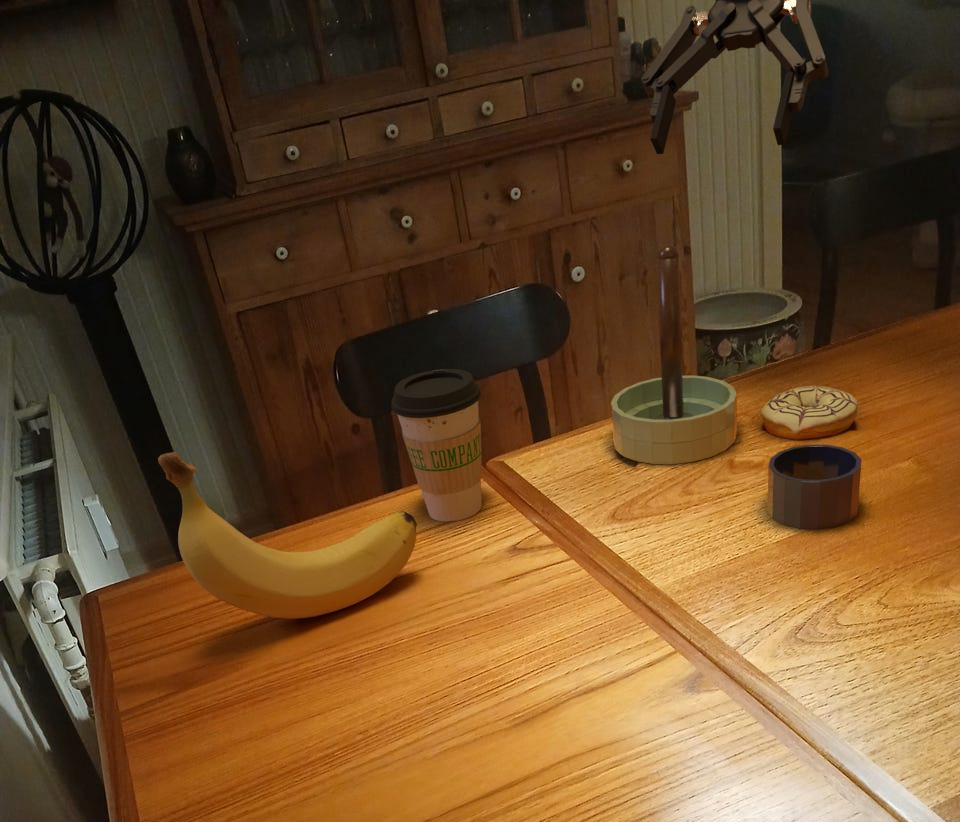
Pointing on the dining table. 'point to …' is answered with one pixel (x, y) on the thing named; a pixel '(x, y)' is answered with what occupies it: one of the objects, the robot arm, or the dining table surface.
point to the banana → (284, 559)
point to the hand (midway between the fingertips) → (715, 142)
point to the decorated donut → (809, 412)
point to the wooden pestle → (670, 333)
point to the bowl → (674, 421)
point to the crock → (814, 486)
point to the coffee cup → (443, 439)
